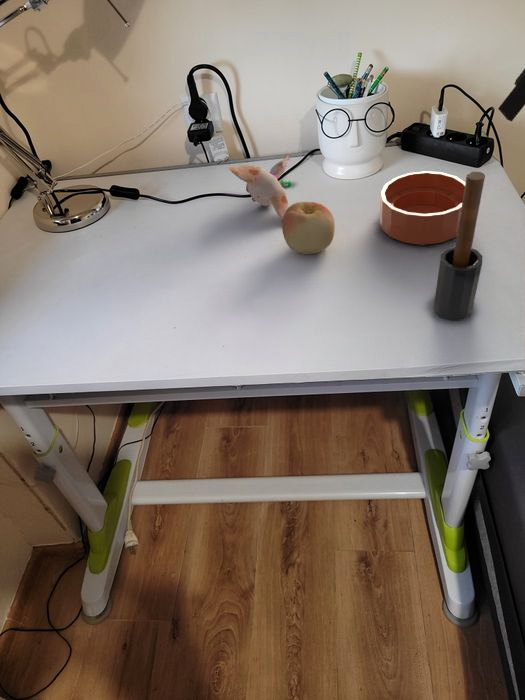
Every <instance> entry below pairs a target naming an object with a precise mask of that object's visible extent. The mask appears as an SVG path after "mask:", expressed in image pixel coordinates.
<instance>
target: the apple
mask: <svg viewBox="0 0 525 700" xmlns="http://www.w3.org/2000/svg"><path fill="white" fill-rule="evenodd" d="M288 207H289V208H288V209H287V210H286V212H285V214H284V216H283V220H282V219H281V231H282V235H283V238H284V241H285V243H286V245H287V246H288V248H289V249H290V250H291V251H293V252H294V253H297V254H305V255H309V254H311V255H312V254H316V253H319V252H322V251H324V250H326V249H327V248H328V247H329V246H330V245H331V244H332V242H333V240H334V236H335V230H336V226H335V225H336V224H335V218H334V215H333V214H332V212H331V210H330V209H329V208H328V207H327V206H325V205H323V204H322V203H319V202H316V201H300V202H299V201H297V202H295V203H293V204H291V205H289V206H288Z"/></svg>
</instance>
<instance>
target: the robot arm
mask: <svg viewBox="0 0 525 700" xmlns="http://www.w3.org/2000/svg"><path fill="white" fill-rule="evenodd" d="M524 107H525V68H524V69H523V70H522V71H521V73H520V74H519V75H518V77H517V78H516V79H515V81H514V88H512V90H511V91H510V93H508V95H507V97H506V98H505V99H504V100H503V102H502V103H501V104H500V105H499V107H498V108H497V109H498V111H499V112H500V113H501V114H502V116H503V117H504V118H505V119H506V120H507V121H509V122H513V121H514V120H515V118H516V117H517V116H518V114H519V113H520V112H521V111H522V110H523V108H524Z"/></svg>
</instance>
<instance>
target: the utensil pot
mask: <svg viewBox="0 0 525 700" xmlns="http://www.w3.org/2000/svg"><path fill="white" fill-rule="evenodd" d="M454 250H455V246H451V247H448V248H445V249H444V250H443V251H442V252H441V253H440V257H439V263H438V264H439V265H438V272H437V279H436V286H435V292H434V293H435V294H434V302H433V310H434V312H435V314H436V315H437V316H438V317H440V318H442V319H443V320H447V321H452V322H453V321H455V322H456V321H457V322H458V321H461V320H465V319H467V318H469V316H470V315H471V314H472V311H473V309H474V304H475V299H476V295H477V289H478V284H479V280H480V275H481V271H482V267H483V255H482V254H481V253H480V251H478V250H477V249H474V248H473V247H472V248H471V253H470V258H469V263H468V267H456V266H454V265H452V263H453V257H454Z"/></svg>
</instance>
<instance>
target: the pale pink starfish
mask: <svg viewBox="0 0 525 700" xmlns="http://www.w3.org/2000/svg"><path fill="white" fill-rule="evenodd" d="M291 159H292V158H291V156H290V155H289V154H288V155H286V156H285V157H284V158H283V159H282V160H280V161H278V162H277V163H275V164H274V165H273V166H272V167H271V168H270V170H269V171H267V170H265V169H264V168H262V167H260V166H255V165H250V164H244V165H242V164H241V165H235V166H231V167H228V170H229V171H230V172H231V173H232V174H233V175H235V177H236V178H238V179H239V180H241V181H243V182H245V183H246V185H245V191H246V192H247V193H248V194H249V195H250V196H251V200H252V201H253V202H256V203H258V204H259V205H261V206H262V207H263V208H265V207H270V206H272V208H273V209H274V211H275V213H276V215H277V216H278V218H280V219H281V221H282V220H283V216H284V214H285V212H286V210H287V209H288V208H289V207H290V206H289V201H288V197H287V193H286V190H285V189H284V188H283V186H284V185H288V186H293V181H292V180H289V181H285V180H280V182H279V180H278V179H279V178H280V177H281V176H282V175H283V174H284V173H285V171H286V170H287V168H288V164H289V162H290V161H291Z"/></svg>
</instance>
